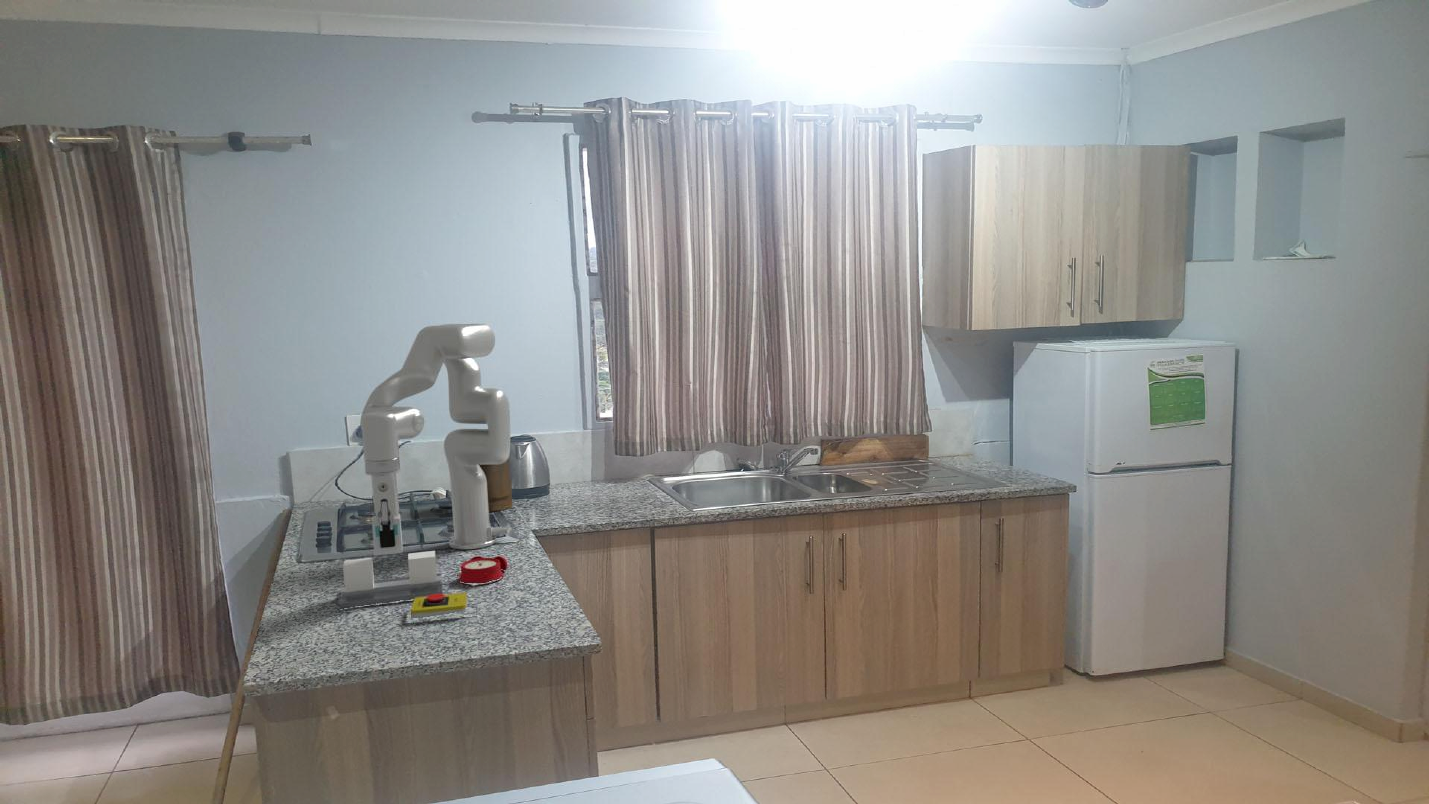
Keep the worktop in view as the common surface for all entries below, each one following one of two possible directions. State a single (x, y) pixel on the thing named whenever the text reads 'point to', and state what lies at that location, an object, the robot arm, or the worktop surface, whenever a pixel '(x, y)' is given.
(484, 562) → the alarm clock
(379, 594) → the board
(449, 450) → the robot arm
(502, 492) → the wooden container
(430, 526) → the worktop surface
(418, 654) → the worktop surface
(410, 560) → the mounted modules
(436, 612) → the emergency button
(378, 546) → the block
